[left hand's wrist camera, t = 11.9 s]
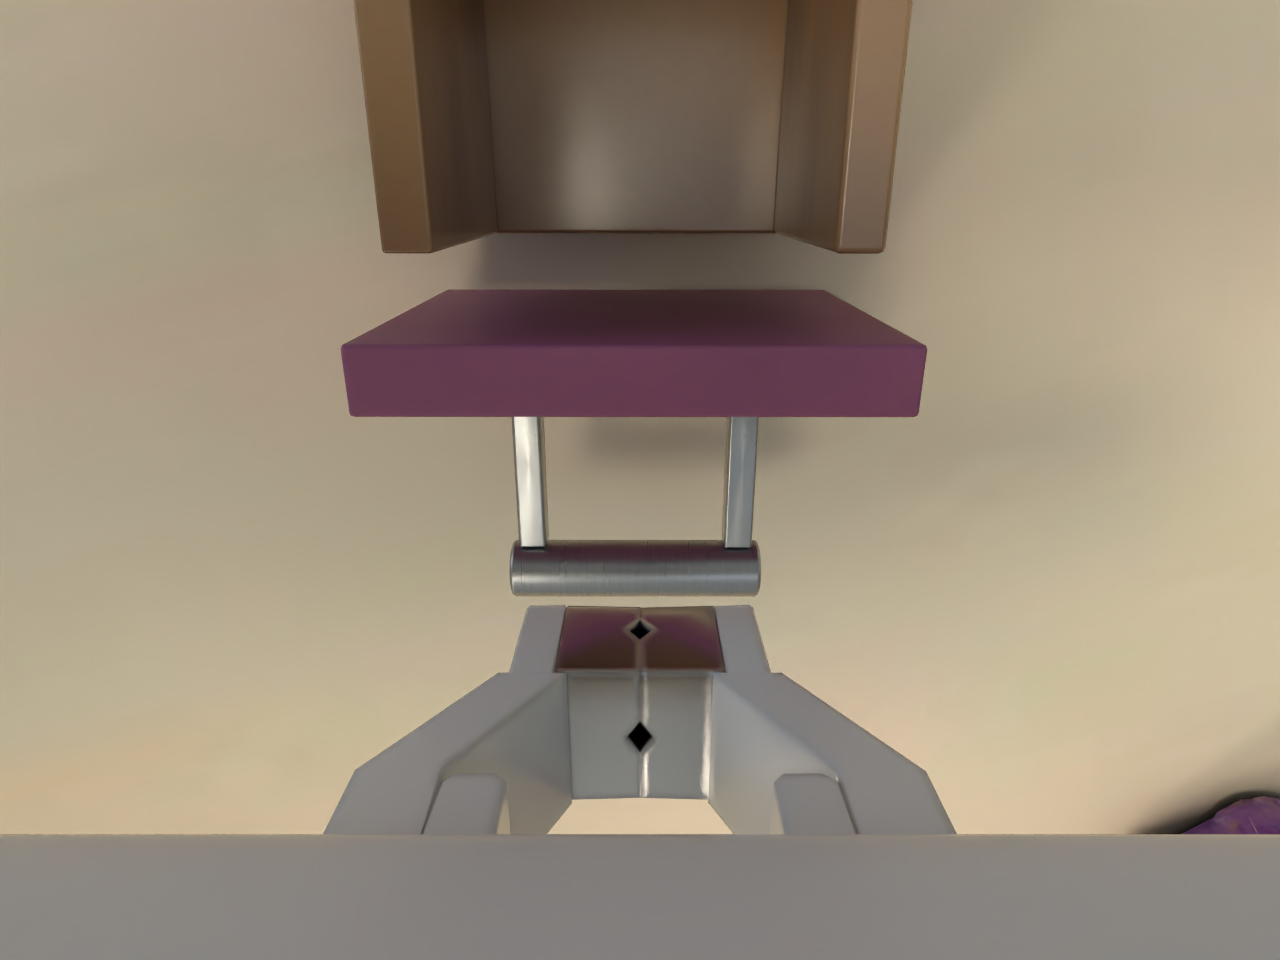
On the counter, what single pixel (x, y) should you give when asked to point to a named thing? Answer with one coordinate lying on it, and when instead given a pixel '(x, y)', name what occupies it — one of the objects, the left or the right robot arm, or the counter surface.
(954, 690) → the counter surface
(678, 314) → the drawer
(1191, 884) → the left robot arm
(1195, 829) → the figurine
